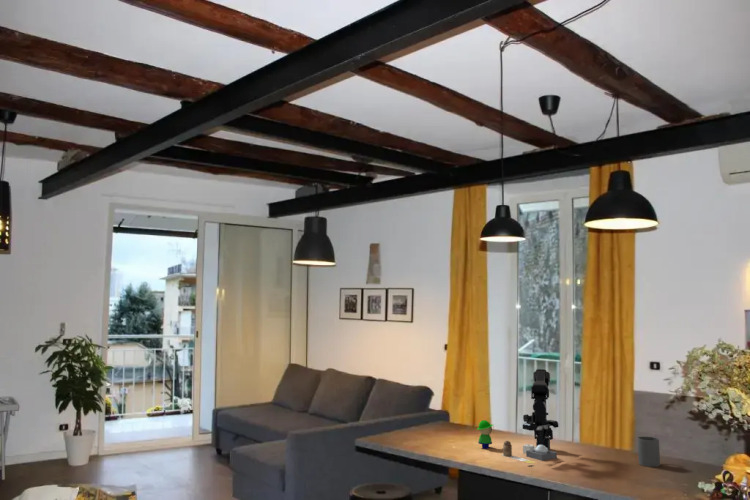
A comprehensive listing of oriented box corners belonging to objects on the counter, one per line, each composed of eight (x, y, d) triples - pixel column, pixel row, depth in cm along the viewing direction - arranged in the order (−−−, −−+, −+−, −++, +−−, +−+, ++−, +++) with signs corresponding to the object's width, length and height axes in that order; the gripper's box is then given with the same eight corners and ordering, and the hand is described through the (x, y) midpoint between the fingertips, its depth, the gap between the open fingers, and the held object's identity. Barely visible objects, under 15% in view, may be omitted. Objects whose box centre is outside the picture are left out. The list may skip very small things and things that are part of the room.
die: (527, 452, 313) (527, 443, 313) (534, 453, 310) (534, 445, 310) (523, 453, 310) (523, 445, 310) (530, 454, 307) (530, 446, 307)
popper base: (541, 454, 307) (541, 448, 308) (556, 458, 299) (556, 452, 299) (526, 457, 302) (526, 450, 302) (541, 461, 294) (541, 454, 294)
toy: (493, 452, 317) (493, 422, 319) (476, 451, 319) (476, 421, 321) (494, 448, 326) (493, 419, 328) (477, 447, 328) (476, 418, 329)
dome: (541, 454, 305) (541, 442, 305) (550, 456, 299) (550, 445, 300) (532, 455, 302) (532, 444, 302) (541, 458, 296) (541, 446, 297)
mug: (654, 468, 284) (652, 441, 286) (635, 464, 291) (633, 438, 293) (668, 463, 293) (667, 437, 294) (649, 460, 300) (648, 434, 301)
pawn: (507, 454, 307) (507, 439, 308) (513, 455, 303) (513, 441, 304) (501, 455, 305) (501, 440, 306) (507, 456, 301) (506, 441, 302)
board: (527, 452, 316) (527, 450, 316) (560, 461, 297) (560, 458, 297) (497, 457, 306) (497, 454, 306) (529, 466, 287) (529, 463, 287)
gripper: (542, 406, 314) (542, 438, 313) (514, 409, 305) (514, 442, 303) (558, 409, 305) (559, 442, 303) (530, 412, 295) (531, 446, 294)
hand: (541, 443), depth 301 cm, fingers closed
